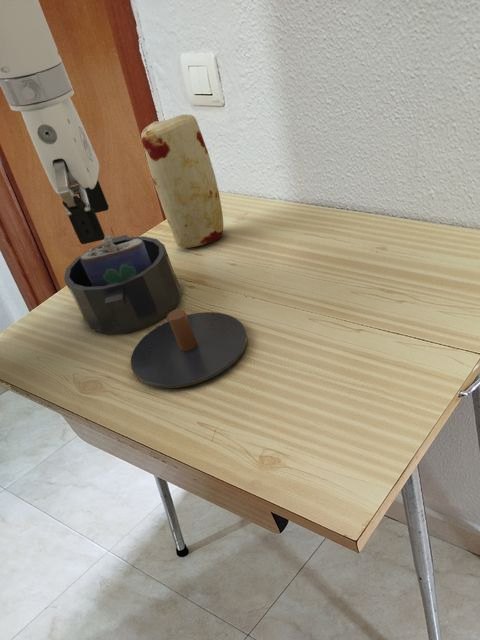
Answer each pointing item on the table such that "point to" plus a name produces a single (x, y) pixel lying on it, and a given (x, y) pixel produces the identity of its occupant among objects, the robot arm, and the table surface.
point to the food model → (184, 180)
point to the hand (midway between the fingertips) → (95, 225)
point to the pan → (127, 293)
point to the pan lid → (188, 349)
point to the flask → (115, 261)
